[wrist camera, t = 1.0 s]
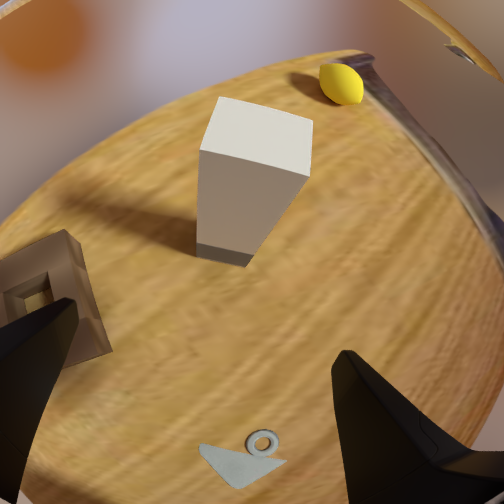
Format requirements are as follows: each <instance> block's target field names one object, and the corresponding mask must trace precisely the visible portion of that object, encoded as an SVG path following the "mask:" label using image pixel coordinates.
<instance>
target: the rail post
mask: <svg viewBox="0 0 504 504" xmlns="http://www.w3.org/2000/svg"><path fill="white" fill-rule="evenodd" d="M312 131H313V120H310V119H307V118H303V117H300V116H297V115H294V114H290V113H287V112H283V111H280V110H276V109H273V108H269V107H265V106H261V105H257V104H253V103H249V102H244V101H240V100H235V99H231V98H226V97H221V96H219V99H218V101H217V104H216V106H215V109H214V112H213V114H212V117H211V119H210V122H209V125H208V127H207V130H206V133H205V136H204V138H203V141H202V144H201V147H200V150H199V170H198V196H197V242H196V257H198V258H202V259H207V260H212V261H216V262H221V263H225V264H230V265H235V266H239V267H244V268H245V267H246V266H247V265H248V263H249V262H250V260H251V259H252V258H253V256H254V254H255V253H256V251H257V250H258V249H259V247H260V246H261V244H262V243H263V242H264V240H265V239H266V237H267V236H268V235H269V233H270V232H271V230H272V229H273V228H274V226H275V225H276V223H277V222H278V220H279V219H280V218H281V216H282V215H283V213H284V212H285V211H286V209H287V208H288V206H289V205H290V204H291V202H292V201H293V199H294V198H295V197H296V195H297V194H298V192H299V191H300V190H301V188H302V187H303V185H304V184H305V182H306V181H307V180H308V178H309V177H310V165H311V149H312Z"/></svg>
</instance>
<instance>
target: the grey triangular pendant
mask: <svg viewBox="0 0 504 504" xmlns="http://www.w3.org/2000/svg"><path fill="white" fill-rule="evenodd" d="M261 437H267V438H269V439H270V440H271V445H270V447H269V448H268V449H266V450H258V449H257V448H256V447H255V442H256V440H257V439H259V438H261ZM278 445H279V438H278V436H277V434H276V433H274V432H273V431H271V430H267V429H262V430H258V431H255V432H253V433H252V434H251V435H250V436H249V437H248V439H247V441H246V448H247V449H248V451H249V452H250V453H251V454H252V455H250V454H245V453H240V452H235V451H231V450H227V449H223V448H219V447H215V446H211V445H207V444H204V443H201V444H200V446H199V451H200V454H201V455H202V456H203V457H204V459H205V460H206V461H207V462H208V463H209V464H210V465H211V466H212V467H213V468H214V470H215V471H216V472H217V473H218V474H219V475H220V476H221V477H222V478H223V479H224V480H225V481H226V482H227V483H228V484H229V485H230V486H231V487H233V488H237V489H242V488H243V487H245V486H247V485H249V484H251V483H252V482H254V481H256V480H257V479H259V478H261V477H263V476H264V475H266V474H267V473H269V472H271V471H272V470H274V469H275V468H277V467H279V466H280V465H282V464H283V463H285V462H286V460H279V459H272V458H266V456H269V455H271V454H273V453H274V452H275V451H276V450H277V447H278Z"/></svg>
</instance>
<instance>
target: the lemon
mask: <svg viewBox="0 0 504 504" xmlns="http://www.w3.org/2000/svg"><path fill="white" fill-rule="evenodd" d="M319 82H320V86H321V88H322V90H323V92H324V94H325V95H326V96H327V97H329V98H330V99H331V100H333V101H334V102H335V103H338V104H342V105H354V104H358V103H360V102H361V100H362V96H363V82H362V79H361V78H360V77H359V75H358V74H357V73H356V72H355V71H354V70H353V69H352V68H350V67H348V66H347V65H344V64H338V63H334V64H325V65H321V66H320V73H319Z"/></svg>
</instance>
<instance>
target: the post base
mask: <svg viewBox="0 0 504 504" xmlns="http://www.w3.org/2000/svg"><path fill="white" fill-rule="evenodd" d="M50 287H51V289H52V293H53V297H54V301H57V300H59V299H61V298H63V297H68V298H71V299H74V300H75V301H76V302H77V308H78V314H79V325H78V328H77V330H76V333H75V336H74V338H73V341H72V344H71V347H70V349H69V352H68V355H67V358H66V360H65V363H64V365H63V367H62V369H63V368H66V367H69V366H72V365H76V364H78V363H81V362H84V361H87V360H90V359H93V358H96V357H99V356H102V355H105V354H107V353H110V352H113V350H112V348H111V345H110V343H109V340H108V337H107V335H106V332H105V329H104V326H103V323H102V320H101V317H100V314H99V311H98V308H97V305H96V302H95V299H94V295H93V292H92V288H91V285H90V281H89V278H88V274H87V270H86V266H85V262H84V258H83V253H82V249H81V244H80V243H79V242H78V241H77V240H76V239H75V238H74V237H73V236H71V235H70V234H69V233H68V232H67V231H66V230H65V229H63V230H61V231H58V232H56V233H54V234H52V235H50V236H48V237H46V238H44V239H42V240H39V241H37V242H35V243H33V244H31V245H29V246H27V247H26V248H24V249H22V250H20V251H18V252H16V253H14V254H12V255H10V256H8V257H7V258H5V259H3V260H1V261H0V328H1V327H3V326H5V325H7V324H9V323H11V322H13V321H15V320H17V319H19V318H21V317H23V316H25V315H27V311H26V307H25V302H24V299H25V298H28V297H30V296H32V295H34V294H37V293H39V292H41V291H43V290H46V289H48V288H50Z"/></svg>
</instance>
